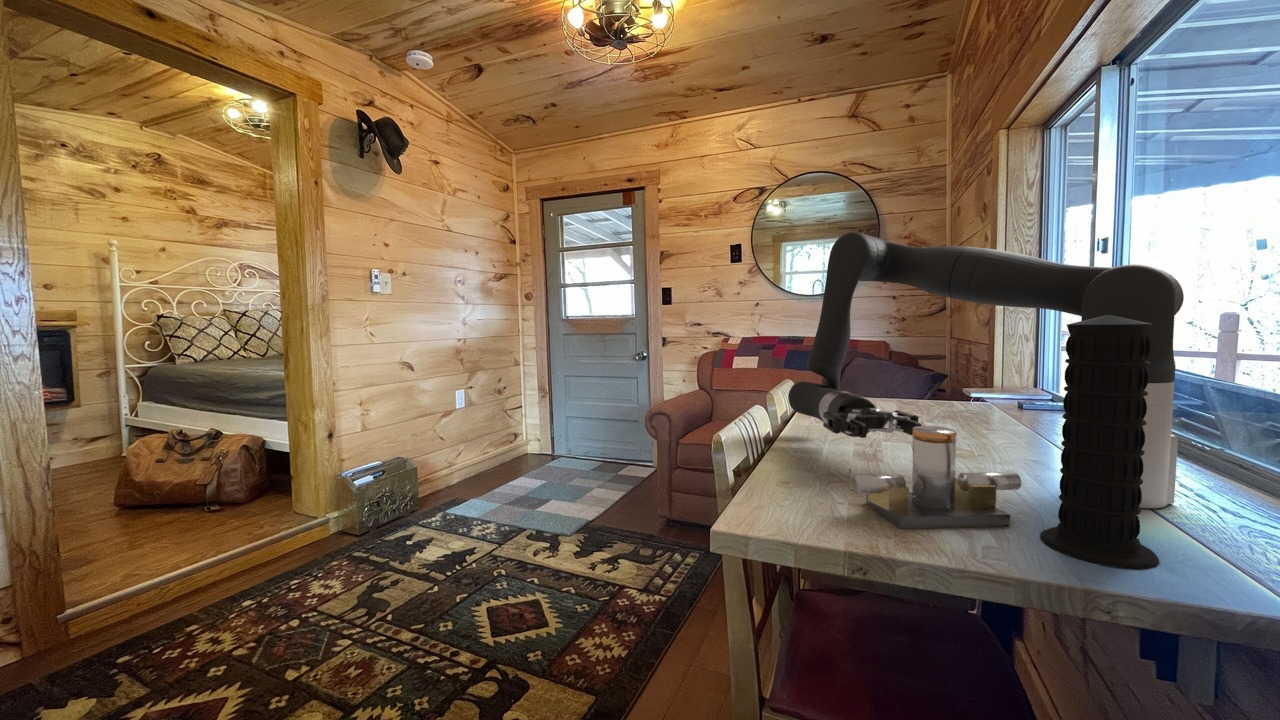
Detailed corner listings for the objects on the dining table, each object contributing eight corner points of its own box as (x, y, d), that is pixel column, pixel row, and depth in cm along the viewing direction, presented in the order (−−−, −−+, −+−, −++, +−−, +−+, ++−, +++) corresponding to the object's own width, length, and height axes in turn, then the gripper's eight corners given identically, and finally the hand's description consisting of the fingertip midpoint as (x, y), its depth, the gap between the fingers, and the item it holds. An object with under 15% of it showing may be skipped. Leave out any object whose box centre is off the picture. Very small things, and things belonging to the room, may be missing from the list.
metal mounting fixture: (989, 500, 72) (990, 462, 72) (1040, 525, 63) (1042, 482, 63) (842, 503, 72) (842, 466, 71) (873, 529, 63) (873, 486, 62)
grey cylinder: (939, 495, 70) (941, 425, 69) (964, 508, 65) (965, 433, 64) (903, 496, 70) (904, 426, 69) (925, 510, 65) (926, 434, 64)
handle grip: (1188, 571, 51) (1107, 530, 61) (1205, 313, 49) (1118, 314, 59) (1083, 567, 52) (1020, 528, 62) (1095, 314, 50) (1028, 316, 60)
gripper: (808, 393, 93) (847, 408, 77) (883, 391, 94) (937, 406, 78) (808, 432, 94) (846, 455, 78) (883, 431, 94) (936, 453, 78)
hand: (891, 430), depth 78 cm, fingers open, 8 cm apart
